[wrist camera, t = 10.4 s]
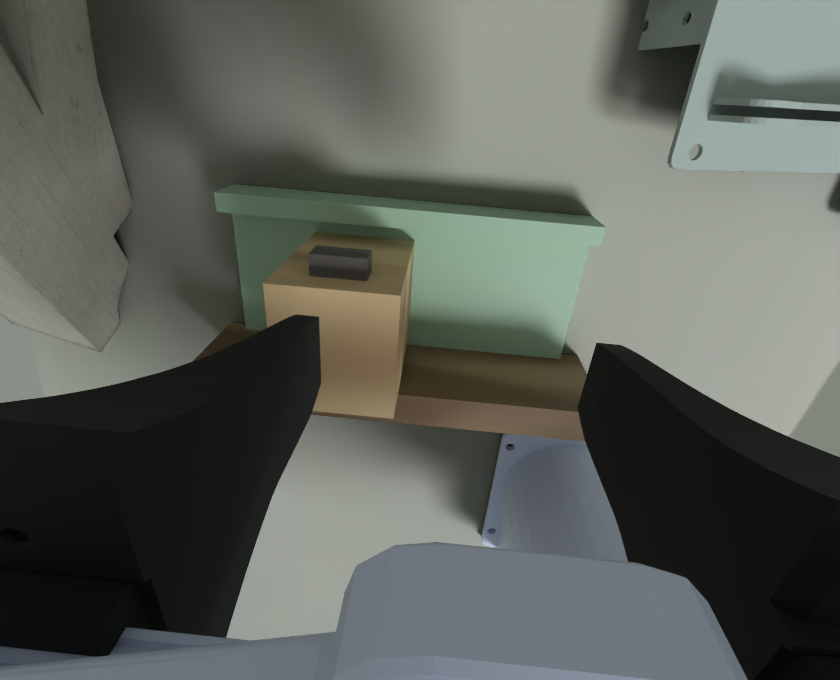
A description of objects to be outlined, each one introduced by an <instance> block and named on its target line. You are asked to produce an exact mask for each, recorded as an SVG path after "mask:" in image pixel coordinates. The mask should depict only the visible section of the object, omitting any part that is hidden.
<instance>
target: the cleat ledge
mask: <svg viewBox="0 0 840 680" xmlns="http://www.w3.org/2000/svg"><path fill="white" fill-rule="evenodd" d="M214 198H215V206H216V212H222V213H232V219H233V228H234V236H235V244H236V253H237V261H238V269H239V277H240V286H241V294H242V302H243V311H244V319H245V327H246V329H250V330H260V331H262V330H264V329H266V328H267V321H266V311H265V301H264V291H263V283H264V282H265V281H266V280H267V279H268V278H269V277H270V276H271V275H272V274H273V273H274V272H275V271H276V270H277V269H278V268H279V267H280V266H281V265H282V264H283V263H284V262H285V261H286V260H287V259H288V258H289V257H290V256H291V255H292V254H293V253H294V252H295V251H296V250H297V249H298V248H299V247H300V246H301V245H302V244H303V243H304V242H305V241H306V240H307V239H308V238H309V237H310V236H311V235H313V234H314V233H315V232H326V233H337V234H349V235H360V236H371V237H383V238H394V239H405V240H415V243H414V257H413V272H412V287H411V302H410V316H409V331H408V341H407V345H418V346H428V347H439V348H449V349H460V350H470V351H481V352H491V353H502V354H512V355H523V356H533V357H544V358H554V359H560V358H561V354H562V350H563V347H564V343H565V339H566V335H567V331H568V327H569V323H570V319H571V316H572V312H573V308H574V304H575V300H576V296H577V292H578V289H579V285H580V281H581V277H582V273H583V269H584V265H585V261H586V258H587V254H588V250H589V246H597V247H601V245H602V241H603V238H604V234H605V230H606V227H605V226H604V225H603V224H601V223H600V222H599V221H598V220H597V219H595V218H594V217H593V216H585V215H574V214H563V213H552V212H541V211H530V210H518V209H507V208H496V207H485V206H474V205H463V204H451V203H440V202H429V201H418V200H407V199H395V198H384V197H373V196H362V195H351V194H340V193H328V192H317V191H306V190H295V189H284V188H273V187H261V186H250V185H239V184H233V185H231V186H228V187H226V188H223V189H221V190H218V191H215V192H214Z"/></svg>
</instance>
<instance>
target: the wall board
mask: <svg viewBox="0 0 840 680" xmlns="http://www.w3.org/2000/svg"><path fill="white" fill-rule="evenodd" d="M258 332H260V330H250V329H246V327H245V323H235V322H231V323H230V324H229V325H228V326H227V327H226V328H225V329H224V330H223V331H222V332H221V333H220V334H219V335H218V336H217V337H216V338H215V339H214V340H213V341H212V342H211V343H210V344H209V345H208V346H207V347H206V348H205V350H204V351H203V352H202V353H201V354H200V355H199V356H198V357H197V358H196V359H195V360H194V361H196V360H199V359H201V358H204V357H206V356H209V355H211V354H213V353H216V352H218V351H220V350H222V349H224V348H227V347H229V346H231V345H233V344H236V343H238V342H240V341H242V340H244V339H246V338H248V337H250V336H252V335H254V334H256V333H258ZM586 377H587V374H586V372H585V370H584V368H583V366H582V364H581V362H580V360H579V358H578V356H577V355H572V354H561V358H560V359H554V358H544V357H533V356H523V355H512V354H502V353H491V352H481V351H470V350H460V349H449V348H439V347H428V346H418V345H407V347H406V352H405V358H404V363H403V369H402V375H401V380H400V386H399V391H398V397H397V402H396V408H395V413H394V419H390V418H380V417H369V416H359V415H348V414H338V413H328V412H317V411H312V413H311V414H312V415H322V416H332V417H342V418H352V419H363V420H373V421H383V422H393V423H403V424H413V425H424V426H434V427H444V428H454V429H464V430H474V431H485V432H495V433H505V434H515V435H525V436H535V437H546V438H556V439H566V440H576V441H585V439H584V435H583V431H582V427H581V423H580V418H579V413H578V408H577V407H578V404H579V401H580V397H581V394H582V390H583V387H584V384H585V380H586Z"/></svg>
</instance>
